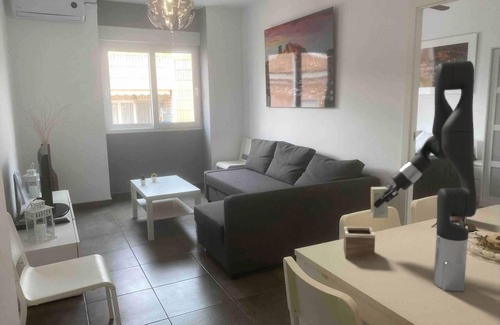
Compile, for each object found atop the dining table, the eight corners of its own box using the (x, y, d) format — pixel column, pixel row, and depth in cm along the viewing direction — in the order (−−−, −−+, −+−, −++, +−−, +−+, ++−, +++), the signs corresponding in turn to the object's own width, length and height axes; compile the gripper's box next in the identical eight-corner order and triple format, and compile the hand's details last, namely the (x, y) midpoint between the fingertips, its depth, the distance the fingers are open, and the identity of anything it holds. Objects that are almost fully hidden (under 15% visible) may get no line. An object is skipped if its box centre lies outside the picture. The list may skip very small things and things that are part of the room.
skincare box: (385, 215, 153) (386, 186, 152) (388, 218, 149) (389, 188, 147) (369, 215, 154) (370, 186, 152) (371, 218, 150) (372, 188, 148)
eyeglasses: (478, 236, 167) (478, 226, 167) (446, 238, 167) (447, 227, 166) (458, 226, 182) (459, 216, 181) (429, 227, 181) (429, 217, 180)
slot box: (374, 260, 144) (375, 235, 143) (345, 258, 146) (345, 234, 145) (370, 249, 154) (371, 227, 153) (343, 248, 156) (344, 226, 154)
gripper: (396, 166, 154) (365, 194, 158) (403, 172, 140) (369, 202, 144) (409, 179, 154) (378, 206, 158) (417, 186, 140) (383, 216, 144)
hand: (374, 204), depth 151 cm, fingers closed on skincare box, 4 cm apart
